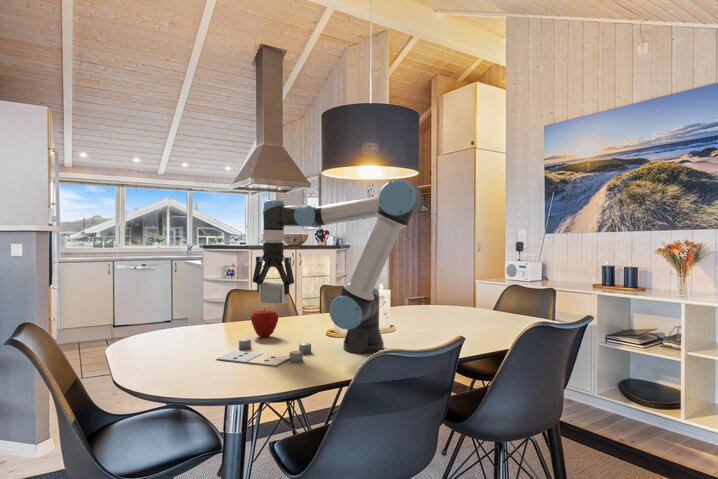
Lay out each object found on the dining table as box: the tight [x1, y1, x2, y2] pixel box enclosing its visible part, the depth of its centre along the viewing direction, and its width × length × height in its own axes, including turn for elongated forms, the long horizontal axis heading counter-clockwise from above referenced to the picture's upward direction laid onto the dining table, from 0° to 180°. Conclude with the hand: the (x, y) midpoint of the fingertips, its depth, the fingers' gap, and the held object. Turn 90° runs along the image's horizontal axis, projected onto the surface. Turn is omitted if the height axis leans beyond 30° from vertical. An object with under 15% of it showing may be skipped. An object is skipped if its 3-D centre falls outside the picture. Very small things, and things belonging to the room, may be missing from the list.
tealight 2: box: [289, 350, 304, 364], centre depth 150 cm, size 4×4×3 cm
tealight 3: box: [298, 342, 312, 355], centre depth 161 cm, size 4×4×3 cm
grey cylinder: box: [261, 281, 284, 304], centre depth 168 cm, size 11×8×8 cm
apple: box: [250, 308, 279, 339], centre depth 186 cm, size 11×11×12 cm
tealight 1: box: [238, 338, 252, 351], centre depth 167 cm, size 4×4×3 cm
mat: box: [216, 350, 290, 368], centre depth 152 cm, size 23×12×1 cm, turn 71°
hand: (273, 302), depth 165 cm, fingers closed on grey cylinder, 9 cm apart
